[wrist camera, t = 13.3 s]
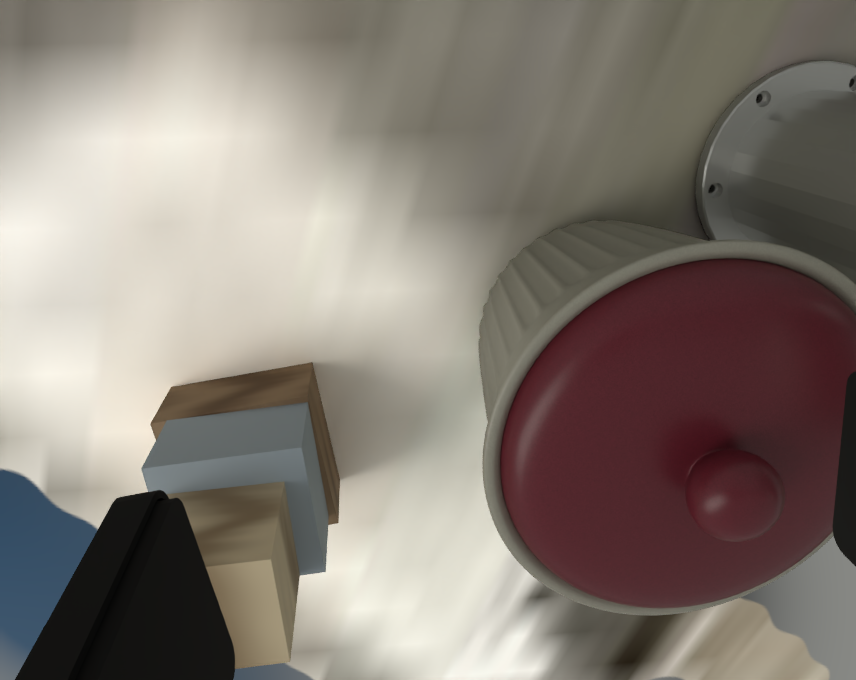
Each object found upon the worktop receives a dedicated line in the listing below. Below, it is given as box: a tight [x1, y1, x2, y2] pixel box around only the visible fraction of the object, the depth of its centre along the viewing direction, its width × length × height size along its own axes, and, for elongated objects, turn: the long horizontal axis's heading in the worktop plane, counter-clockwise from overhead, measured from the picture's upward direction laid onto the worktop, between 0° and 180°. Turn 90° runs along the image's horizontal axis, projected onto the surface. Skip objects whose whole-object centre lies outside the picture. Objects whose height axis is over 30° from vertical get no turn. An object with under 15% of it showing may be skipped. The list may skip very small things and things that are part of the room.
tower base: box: [151, 363, 340, 525], centre depth 43 cm, size 9×9×5 cm
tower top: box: [142, 402, 329, 575], centre depth 38 cm, size 8×8×5 cm
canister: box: [479, 220, 856, 615], centre depth 34 cm, size 18×18×21 cm
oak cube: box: [167, 482, 300, 669], centre depth 33 cm, size 6×6×6 cm
